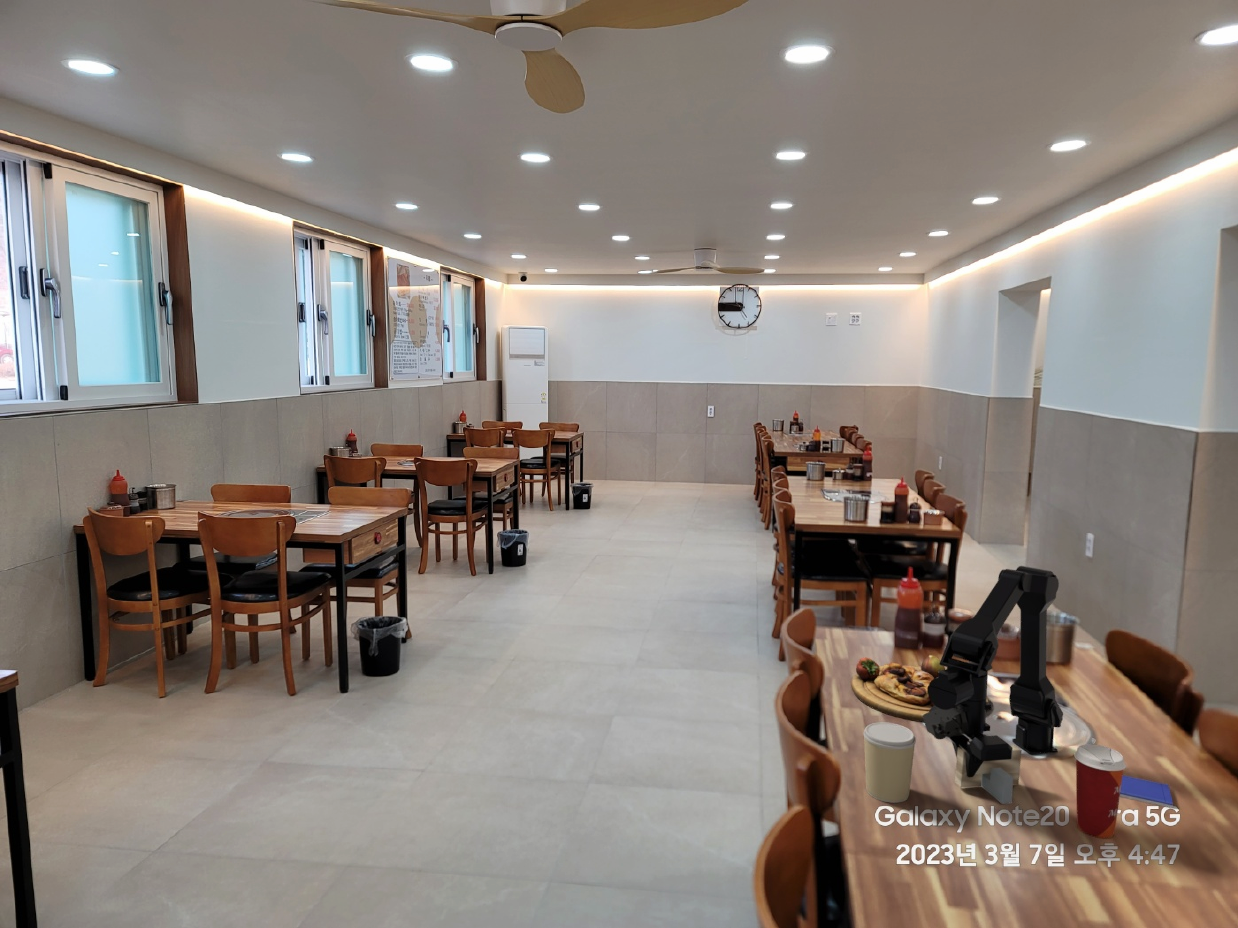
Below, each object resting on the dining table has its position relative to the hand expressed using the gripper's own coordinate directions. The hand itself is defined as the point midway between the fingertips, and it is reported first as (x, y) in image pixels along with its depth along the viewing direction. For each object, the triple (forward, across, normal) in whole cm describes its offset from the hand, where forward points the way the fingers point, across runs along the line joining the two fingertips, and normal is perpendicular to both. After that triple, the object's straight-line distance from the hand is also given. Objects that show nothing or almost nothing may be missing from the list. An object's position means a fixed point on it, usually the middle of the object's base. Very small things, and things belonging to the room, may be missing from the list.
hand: (966, 773), depth 152 cm
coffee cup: (+3, -1, -16) cm, 16 cm away
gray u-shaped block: (+3, 0, +4) cm, 5 cm away
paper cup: (+3, +16, +14) cm, 22 cm away
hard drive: (+4, +5, +31) cm, 32 cm away
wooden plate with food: (+4, -44, +14) cm, 46 cm away
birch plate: (+2, 0, +4) cm, 5 cm away
